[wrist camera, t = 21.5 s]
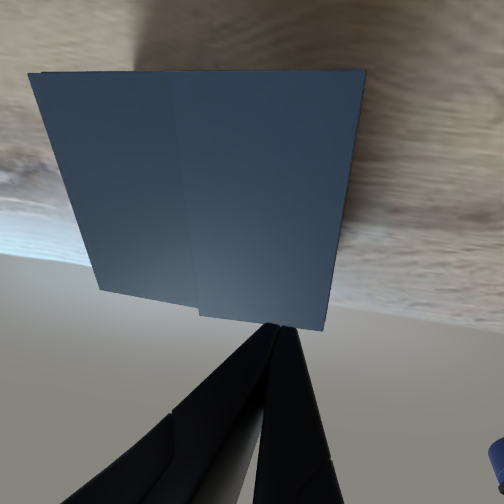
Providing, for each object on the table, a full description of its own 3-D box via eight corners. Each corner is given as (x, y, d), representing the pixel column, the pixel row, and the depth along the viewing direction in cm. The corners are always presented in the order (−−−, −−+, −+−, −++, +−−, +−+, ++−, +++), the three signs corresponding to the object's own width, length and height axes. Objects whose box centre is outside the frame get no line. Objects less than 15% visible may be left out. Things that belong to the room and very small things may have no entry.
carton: (359, 71, 15) (369, 68, 9) (330, 257, 20) (324, 332, 14) (132, 73, 18) (24, 71, 12) (161, 235, 23) (98, 290, 17)
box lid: (365, 70, 9) (366, 70, 9) (323, 327, 15) (323, 331, 14) (172, 71, 10) (168, 71, 10) (201, 311, 16) (199, 315, 15)
